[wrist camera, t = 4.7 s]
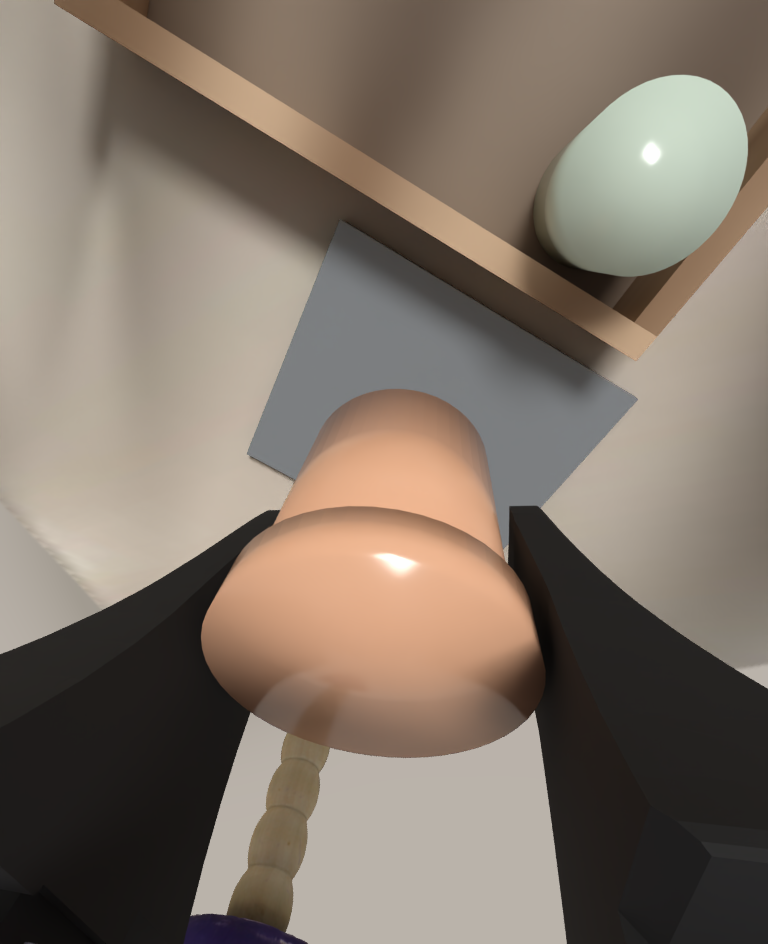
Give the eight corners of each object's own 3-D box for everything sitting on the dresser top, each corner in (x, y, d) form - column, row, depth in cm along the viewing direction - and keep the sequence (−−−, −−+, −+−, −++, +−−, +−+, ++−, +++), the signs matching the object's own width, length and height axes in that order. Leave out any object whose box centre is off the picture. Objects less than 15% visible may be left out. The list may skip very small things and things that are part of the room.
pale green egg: (693, 169, 12) (791, 136, 8) (603, 291, 14) (655, 305, 10) (587, 98, 12) (644, 33, 8) (509, 232, 13) (528, 227, 10)
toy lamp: (325, 560, 21) (41, 1232, 7) (409, 596, 22) (310, 1317, 7) (298, 619, 24) (42, 1214, 9) (374, 651, 24) (244, 1279, 9)
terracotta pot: (500, 367, 10) (562, 552, 5) (497, 540, 13) (534, 766, 8) (280, 386, 11) (141, 559, 6) (324, 544, 14) (259, 749, 9)
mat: (634, 395, 15) (637, 399, 15) (478, 570, 20) (478, 576, 20) (342, 220, 14) (339, 219, 14) (250, 450, 19) (246, 454, 19)
